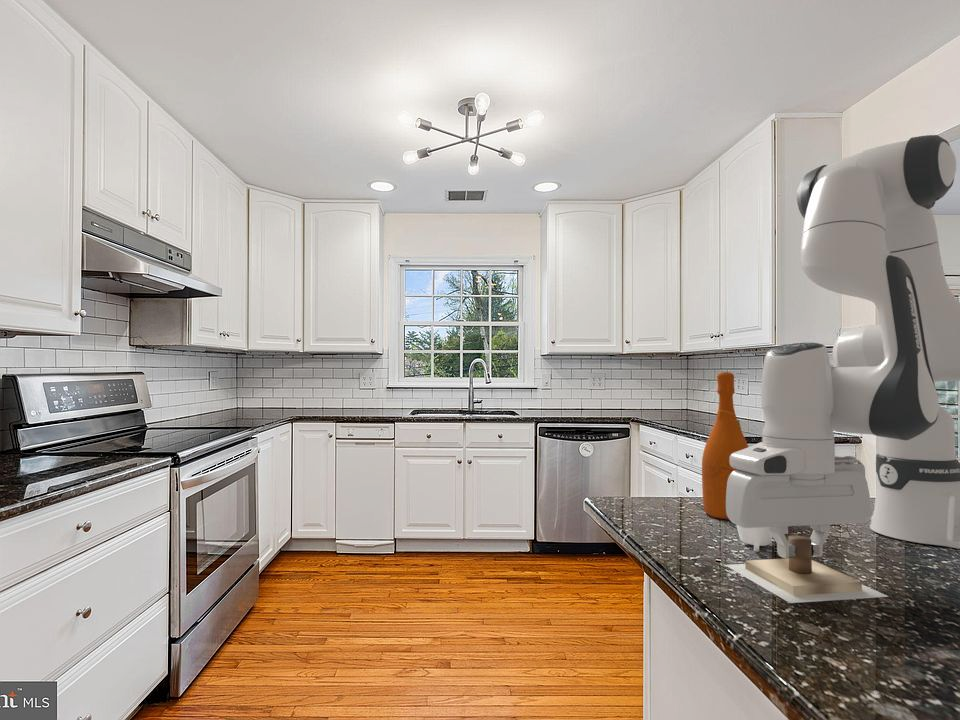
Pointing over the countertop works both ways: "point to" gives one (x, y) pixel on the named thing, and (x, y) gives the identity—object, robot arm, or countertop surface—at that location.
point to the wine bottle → (721, 450)
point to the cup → (755, 536)
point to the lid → (802, 572)
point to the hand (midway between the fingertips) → (799, 556)
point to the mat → (790, 598)
